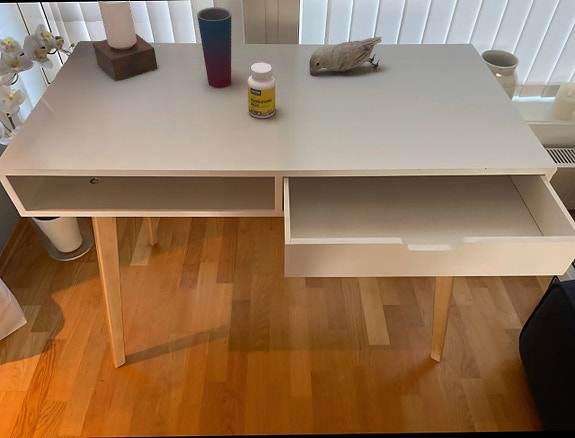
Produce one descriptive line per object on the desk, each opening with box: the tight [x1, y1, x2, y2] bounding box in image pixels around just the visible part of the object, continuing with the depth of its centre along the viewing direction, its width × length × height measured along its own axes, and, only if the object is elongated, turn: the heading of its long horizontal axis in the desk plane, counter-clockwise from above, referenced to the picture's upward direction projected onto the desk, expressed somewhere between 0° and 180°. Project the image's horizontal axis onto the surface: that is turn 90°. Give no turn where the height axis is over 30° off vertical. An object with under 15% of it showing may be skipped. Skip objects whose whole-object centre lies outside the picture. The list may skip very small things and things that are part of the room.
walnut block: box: [92, 32, 158, 82], centre depth 115 cm, size 10×10×5 cm
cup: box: [196, 6, 232, 89], centre depth 107 cm, size 7×7×15 cm
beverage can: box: [97, 1, 137, 50], centre depth 109 cm, size 6×6×12 cm
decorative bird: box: [308, 36, 382, 75], centre depth 114 cm, size 5×16×8 cm, turn 103°
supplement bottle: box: [247, 62, 276, 119], centre depth 100 cm, size 5×5×10 cm
